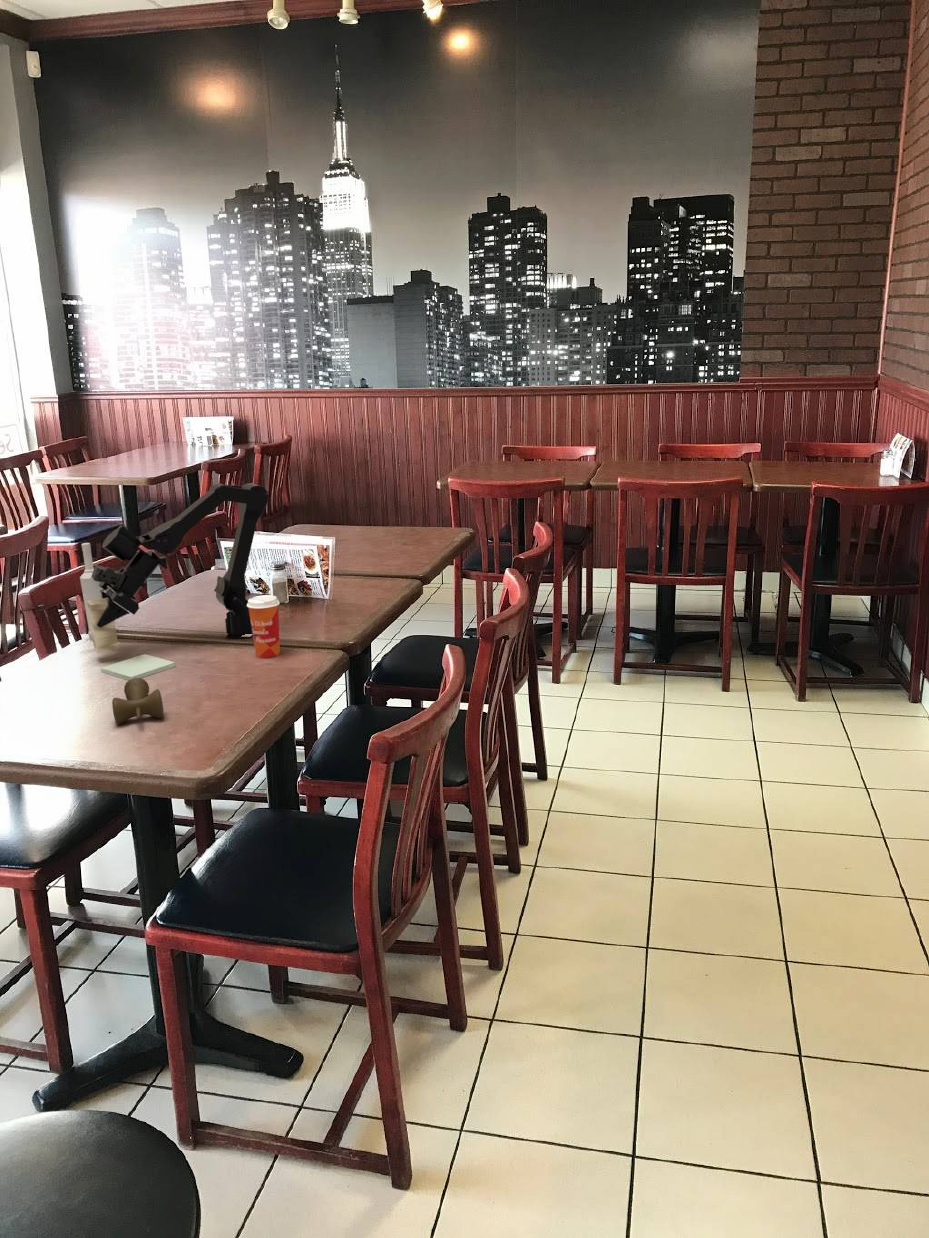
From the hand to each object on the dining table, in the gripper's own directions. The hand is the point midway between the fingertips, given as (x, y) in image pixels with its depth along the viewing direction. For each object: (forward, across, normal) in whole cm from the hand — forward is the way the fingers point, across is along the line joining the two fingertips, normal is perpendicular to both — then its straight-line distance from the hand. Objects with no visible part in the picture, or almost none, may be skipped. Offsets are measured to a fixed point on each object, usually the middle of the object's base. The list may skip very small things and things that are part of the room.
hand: (96, 624), depth 239 cm
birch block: (+4, 0, +6) cm, 7 cm away
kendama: (+7, +42, +7) cm, 43 cm away
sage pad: (+2, +12, +11) cm, 16 cm away
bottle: (+4, -21, +9) cm, 23 cm away
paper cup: (-18, +20, +32) cm, 42 cm away
